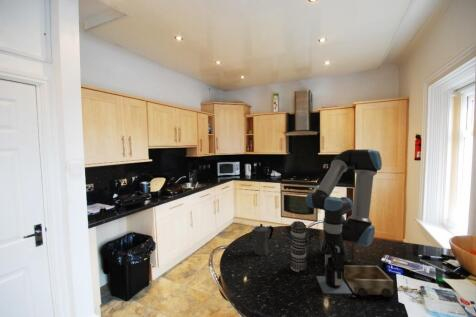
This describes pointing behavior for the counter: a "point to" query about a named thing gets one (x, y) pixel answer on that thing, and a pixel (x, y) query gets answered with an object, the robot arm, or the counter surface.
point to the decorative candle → (298, 246)
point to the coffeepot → (262, 239)
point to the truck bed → (368, 280)
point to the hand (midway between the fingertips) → (332, 275)
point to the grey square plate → (326, 289)
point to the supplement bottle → (330, 273)
